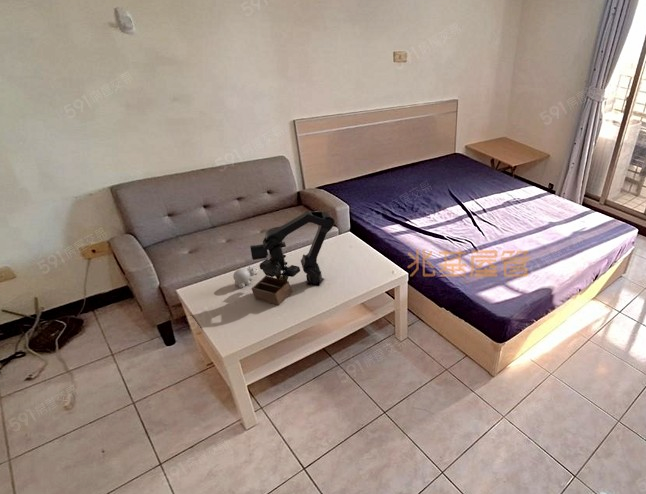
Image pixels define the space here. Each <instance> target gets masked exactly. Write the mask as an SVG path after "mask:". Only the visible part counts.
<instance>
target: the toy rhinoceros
mask: <svg viewBox="0 0 646 494" xmlns="http://www.w3.org/2000/svg"><path fill="white" fill-rule="evenodd" d="M258 274H259V269H258V267H256V269H255V268H253V267H251V266H250V265H249V266H248V268H247V269H245V268H239V269H237V270H235V271H234V272H233V275H232V276H233V280H234V286H237V287H239V289H243V288H245V286H250V284H251V281H250V278H251V277H254V276H258Z"/></svg>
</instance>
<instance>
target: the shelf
mask: <svg viewBox="0 0 646 494" xmlns="http://www.w3.org/2000/svg"><path fill="white" fill-rule="evenodd" d="M251 291H252V294H253V296H254V299H255V300H257V301H261V302H265V303H267V304H268V303H269V304H273V305H276V306H280V305H281V304H282V303H283V302H284V301H285V300H286V299H287V298H288V297H289V296H290V295H291V294H292V293H293V291H292V288H291V284H290V281H289V280H287V281H285V280H284V279H283V276H282V275H281V276H280V277H279V279H277V278H276V277H270V276H266V275H265V276H263V278H261V280H259V281H258V282H257V283H256V284H254V286H252V287H251Z"/></svg>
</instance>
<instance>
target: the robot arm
mask: <svg viewBox="0 0 646 494" xmlns="http://www.w3.org/2000/svg"><path fill="white" fill-rule="evenodd" d="M309 223H310V224H311V223H312V224H314V225H317V226H318V227H317V230H316V233H315V235H314V238H313V241H312V243H311V246H310V248H309V251H308V253H306V254H302V257H301V259H300V264H301V267H302V271H303V273H305V274H306V275H305V277H306V282H307V283H306V285H307V286H315V287H320V286H321V284H322V283H323V281H324V278H323V276H322V275H323V274H322V270H321V269H320V266H319V263H317V261H318V257H319V253H320V252H321V249H322V247H323V244H324V241H325V238H326V236H327V234H328V233H329V232H330V231H331V230H332V229H333V227H334V226H335V223H336V222H335V218H334V217H333V214H331V212H329V211H320V210H317V211H312V210H306V211H304V212H303V213H302V214H300V215H298V216H296V217H294V218H293V219H292V220H290V221H288V222H286V223H284V224H283V225H281V226H275V227H272V228H270V229H268V230H266V231H265V237H264V238H263V239H262V243H261V244H255V245H254V244H253V245H250V246H249V248H250V252H251V253H250V255H251V259H252V261H257V260H262V259H264V260H263V261H261V262H260V263H259V269H260V270H262V272H263V274H264V275H265V276H269V277H273V278H277V279H279V277H280V276H283V279H284V280H285V281H289V277H291V278H293V277H295V276H296V275H297V274H299V273H300V272H301V267H300V266H298V265H293V264H291V265H288V262H287V261H286V259H285V258H286V257H287V255H286V254H284V251H283V248H285V247H287V245H286V242H285V241H284V239H286V237H287V236H288V235H290V234H292V233H294V232H295V231H297V230H299V229H300V228H302V227H304V226H305V225H307V224H309ZM268 256H269V257H270V258H268Z"/></svg>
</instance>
